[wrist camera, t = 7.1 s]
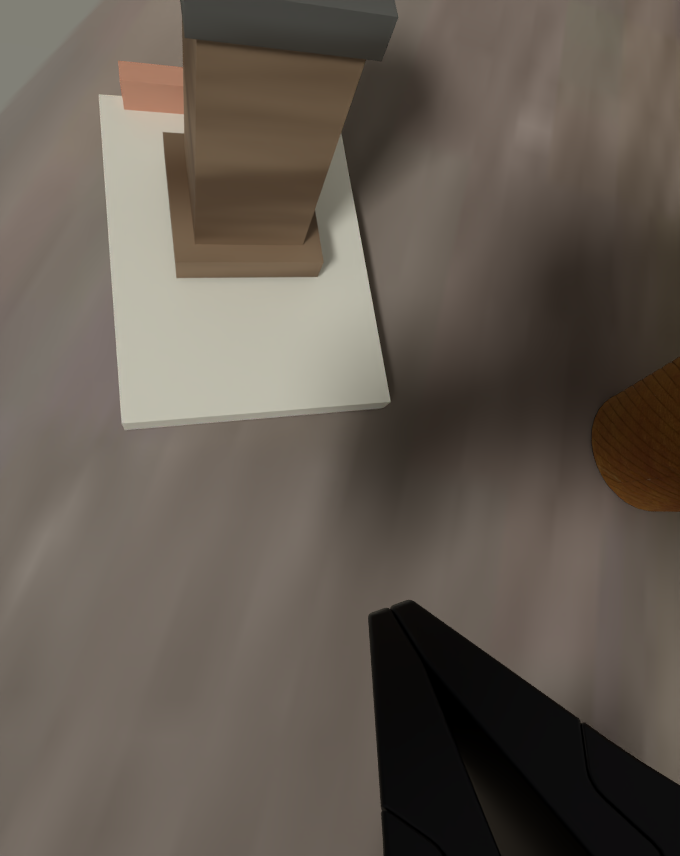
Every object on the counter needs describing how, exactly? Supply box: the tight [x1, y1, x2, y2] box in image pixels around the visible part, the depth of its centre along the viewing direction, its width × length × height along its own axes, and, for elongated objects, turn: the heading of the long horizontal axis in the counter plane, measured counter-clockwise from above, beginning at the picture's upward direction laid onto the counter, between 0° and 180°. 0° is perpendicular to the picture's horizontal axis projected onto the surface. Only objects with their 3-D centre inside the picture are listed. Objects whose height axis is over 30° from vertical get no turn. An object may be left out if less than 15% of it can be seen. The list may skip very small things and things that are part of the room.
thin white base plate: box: [99, 61, 391, 430], centre depth 23 cm, size 15×11×2 cm
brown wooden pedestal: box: [163, 0, 398, 278], centre depth 18 cm, size 6×6×11 cm
